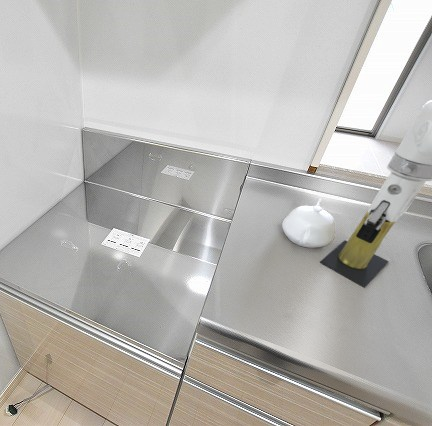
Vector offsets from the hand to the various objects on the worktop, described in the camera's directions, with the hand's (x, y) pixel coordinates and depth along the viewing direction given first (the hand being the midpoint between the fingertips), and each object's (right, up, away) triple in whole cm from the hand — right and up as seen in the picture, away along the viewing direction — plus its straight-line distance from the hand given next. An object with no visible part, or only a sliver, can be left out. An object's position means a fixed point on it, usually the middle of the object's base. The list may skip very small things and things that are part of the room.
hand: (369, 234), depth 69 cm
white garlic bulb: (-7, -2, +14) cm, 15 cm away
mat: (+1, -8, +5) cm, 9 cm away
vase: (0, -7, +5) cm, 9 cm away
